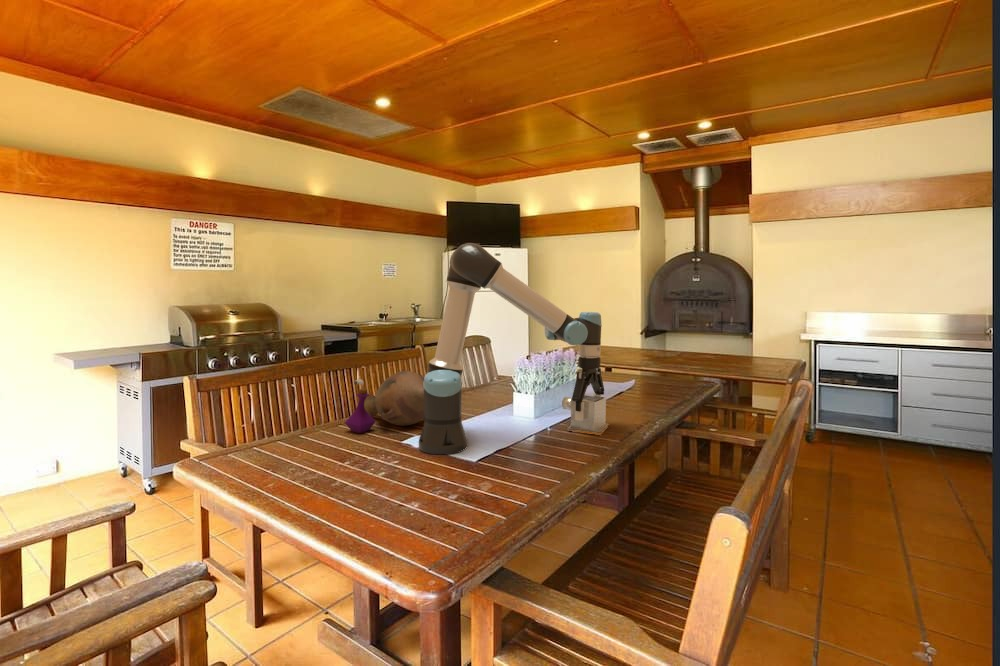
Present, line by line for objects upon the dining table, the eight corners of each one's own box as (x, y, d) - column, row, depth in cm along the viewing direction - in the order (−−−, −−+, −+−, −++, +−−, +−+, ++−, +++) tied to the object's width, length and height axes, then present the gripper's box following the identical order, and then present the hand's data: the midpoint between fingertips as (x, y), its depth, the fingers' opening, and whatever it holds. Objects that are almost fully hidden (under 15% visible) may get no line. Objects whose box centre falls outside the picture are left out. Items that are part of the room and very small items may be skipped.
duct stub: (566, 431, 178) (567, 405, 177) (576, 423, 189) (576, 398, 188) (600, 435, 173) (601, 409, 172) (608, 427, 184) (609, 401, 183)
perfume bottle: (376, 430, 179) (375, 379, 177) (359, 435, 173) (358, 382, 171) (361, 426, 183) (360, 377, 181) (344, 431, 177) (343, 380, 175)
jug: (442, 425, 186) (388, 425, 204) (443, 371, 189) (390, 376, 207) (398, 425, 170) (344, 425, 188) (400, 366, 173) (347, 372, 192)
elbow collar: (605, 425, 182) (606, 397, 181) (594, 431, 175) (594, 402, 174) (570, 419, 190) (571, 392, 189) (558, 424, 183) (558, 396, 182)
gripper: (582, 361, 167) (581, 425, 169) (614, 353, 187) (613, 410, 189) (562, 359, 171) (561, 421, 173) (595, 351, 191) (594, 407, 193)
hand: (588, 416), depth 181 cm, fingers open, 13 cm apart
